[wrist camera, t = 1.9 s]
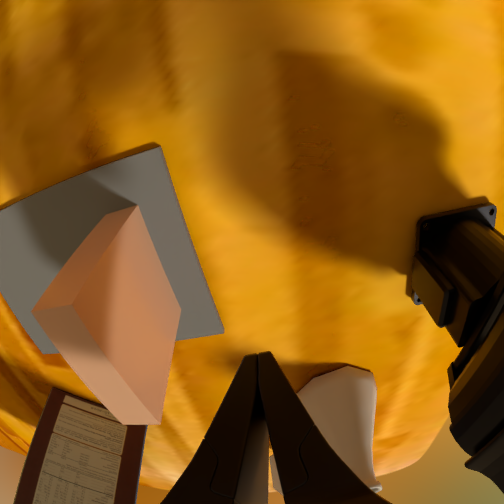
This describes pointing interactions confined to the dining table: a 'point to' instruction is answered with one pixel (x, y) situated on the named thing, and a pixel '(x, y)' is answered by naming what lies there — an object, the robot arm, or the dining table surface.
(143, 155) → the mat
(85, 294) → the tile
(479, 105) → the dining table surface
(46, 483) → the protein box
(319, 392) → the flask
